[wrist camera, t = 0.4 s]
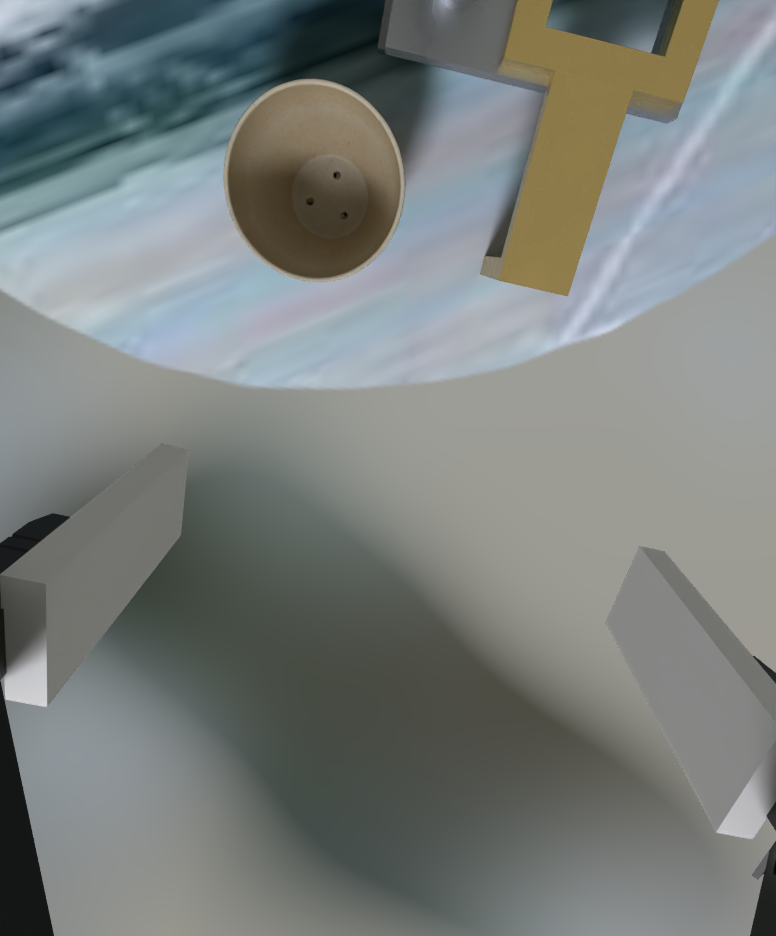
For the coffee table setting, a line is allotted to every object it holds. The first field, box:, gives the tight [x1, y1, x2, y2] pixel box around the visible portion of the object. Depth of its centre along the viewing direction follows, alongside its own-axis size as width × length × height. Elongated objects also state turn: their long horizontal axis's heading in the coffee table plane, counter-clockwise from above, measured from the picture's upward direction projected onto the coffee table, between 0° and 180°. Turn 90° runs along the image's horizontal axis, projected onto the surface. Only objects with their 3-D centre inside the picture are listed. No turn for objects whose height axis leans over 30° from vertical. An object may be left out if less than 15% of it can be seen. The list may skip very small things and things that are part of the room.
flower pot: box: [224, 79, 405, 282], centre depth 34 cm, size 10×10×7 cm
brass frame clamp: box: [377, 0, 719, 296], centre depth 25 cm, size 20×16×22 cm
